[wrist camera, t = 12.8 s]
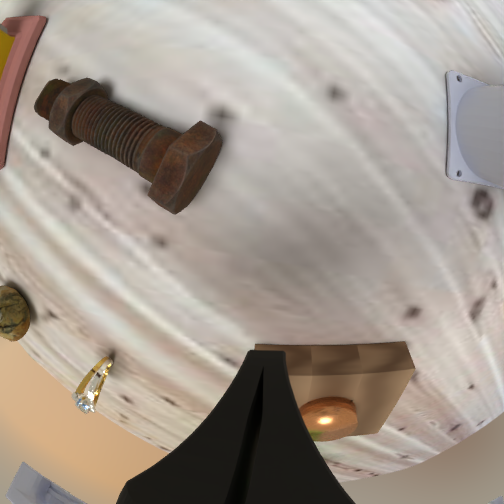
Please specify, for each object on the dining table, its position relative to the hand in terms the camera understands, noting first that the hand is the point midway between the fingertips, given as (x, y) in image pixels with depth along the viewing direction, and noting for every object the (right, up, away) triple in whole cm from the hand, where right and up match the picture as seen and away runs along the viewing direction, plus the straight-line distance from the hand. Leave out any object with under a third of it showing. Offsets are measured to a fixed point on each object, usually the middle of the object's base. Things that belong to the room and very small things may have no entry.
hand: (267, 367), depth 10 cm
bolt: (-10, +14, +7) cm, 18 cm away
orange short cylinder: (+7, -9, +15) cm, 19 cm away
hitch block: (+7, -9, +15) cm, 19 cm away
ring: (-18, -9, +18) cm, 27 cm away
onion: (-33, -2, +17) cm, 38 cm away
